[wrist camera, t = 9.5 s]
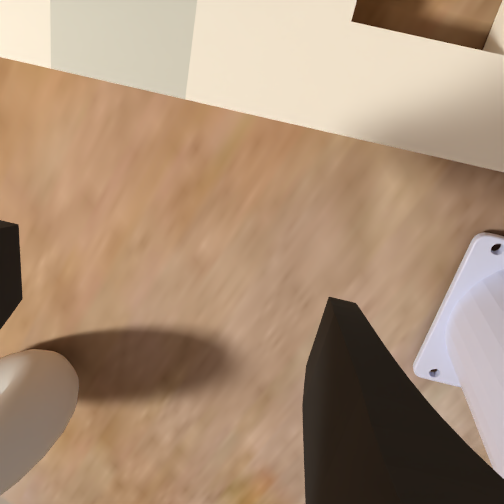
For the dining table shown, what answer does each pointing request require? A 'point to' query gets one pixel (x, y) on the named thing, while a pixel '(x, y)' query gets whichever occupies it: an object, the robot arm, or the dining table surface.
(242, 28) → the peg board
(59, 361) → the donut
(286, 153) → the dining table surface
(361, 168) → the dining table surface
